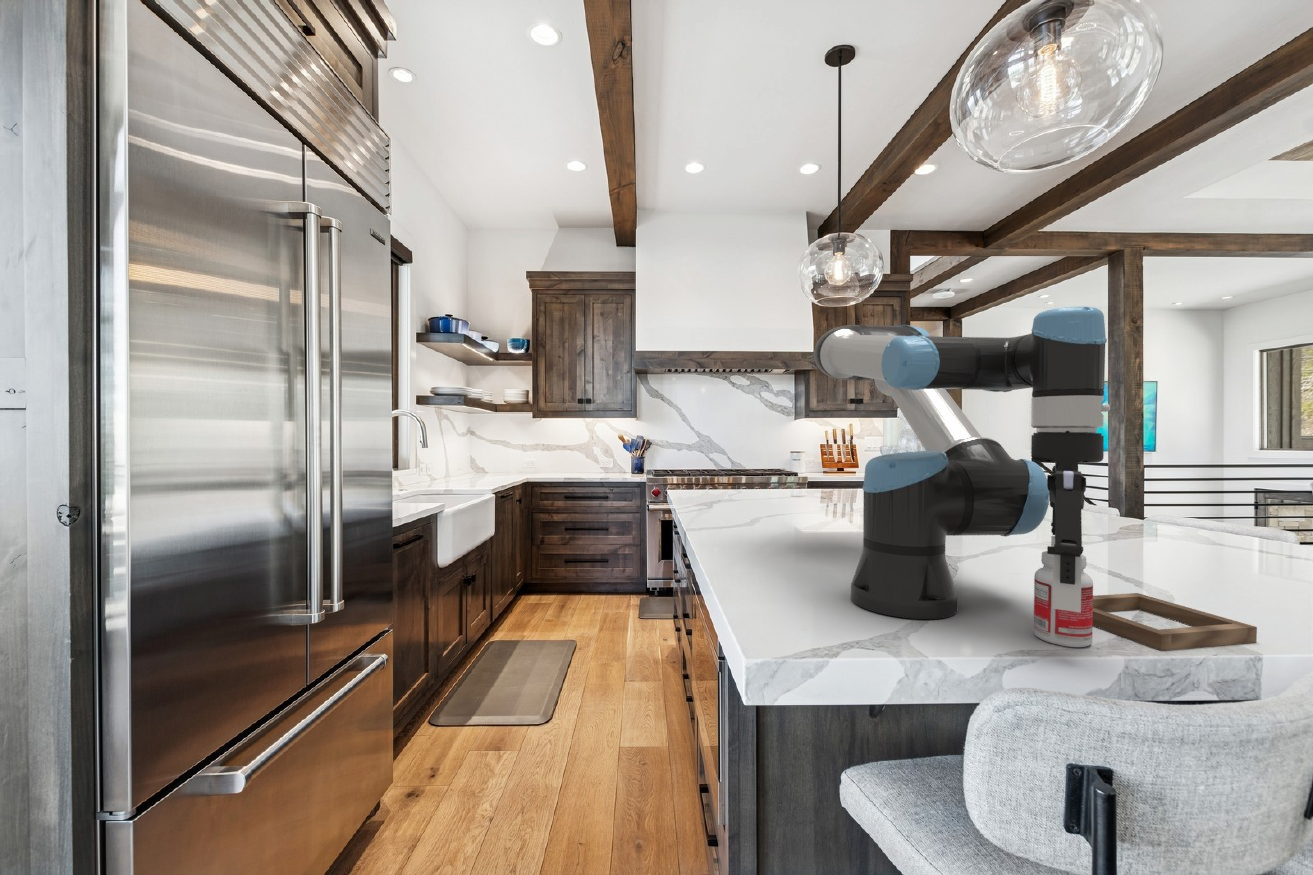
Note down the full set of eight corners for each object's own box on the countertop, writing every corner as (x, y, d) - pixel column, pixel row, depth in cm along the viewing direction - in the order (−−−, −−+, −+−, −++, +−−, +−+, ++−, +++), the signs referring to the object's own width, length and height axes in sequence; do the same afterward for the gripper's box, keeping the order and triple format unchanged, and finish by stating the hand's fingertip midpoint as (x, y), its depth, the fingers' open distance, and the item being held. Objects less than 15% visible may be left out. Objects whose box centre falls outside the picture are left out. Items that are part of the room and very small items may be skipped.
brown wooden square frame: (1161, 650, 70) (1161, 634, 70) (1054, 611, 85) (1054, 598, 85) (1256, 642, 73) (1256, 627, 73) (1137, 605, 88) (1137, 593, 88)
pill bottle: (1100, 642, 73) (1102, 556, 73) (1080, 652, 69) (1081, 562, 69) (1045, 627, 78) (1047, 547, 78) (1024, 636, 75) (1026, 552, 74)
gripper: (1114, 430, 61) (1111, 629, 61) (1095, 431, 81) (1093, 579, 82) (1030, 430, 65) (1027, 616, 65) (1032, 430, 85) (1030, 572, 86)
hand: (1064, 596), depth 73 cm, fingers open, 13 cm apart
